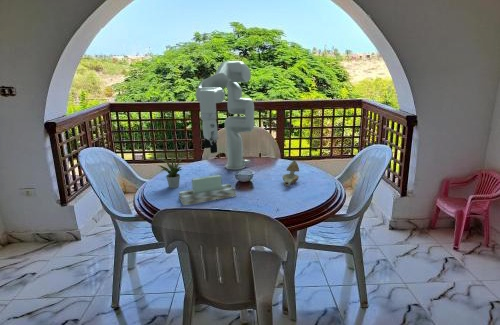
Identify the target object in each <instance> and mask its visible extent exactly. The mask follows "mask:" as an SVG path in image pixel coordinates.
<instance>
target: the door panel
mask: <svg viewBox="0 0 500 325" xmlns="http://www.w3.org/2000/svg"><path fill="white" fill-rule="evenodd" d="M222 177H223V176H222V175H221V174H217V175H216V174H215V175H209V176H202V177H201V176H200V177H196V178H195V177H194V178H191V187H192V190H193V194H196V193H202V192H208V191H215V190H221V189H222V185H223V182H222V181H223V178H222Z"/></svg>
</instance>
